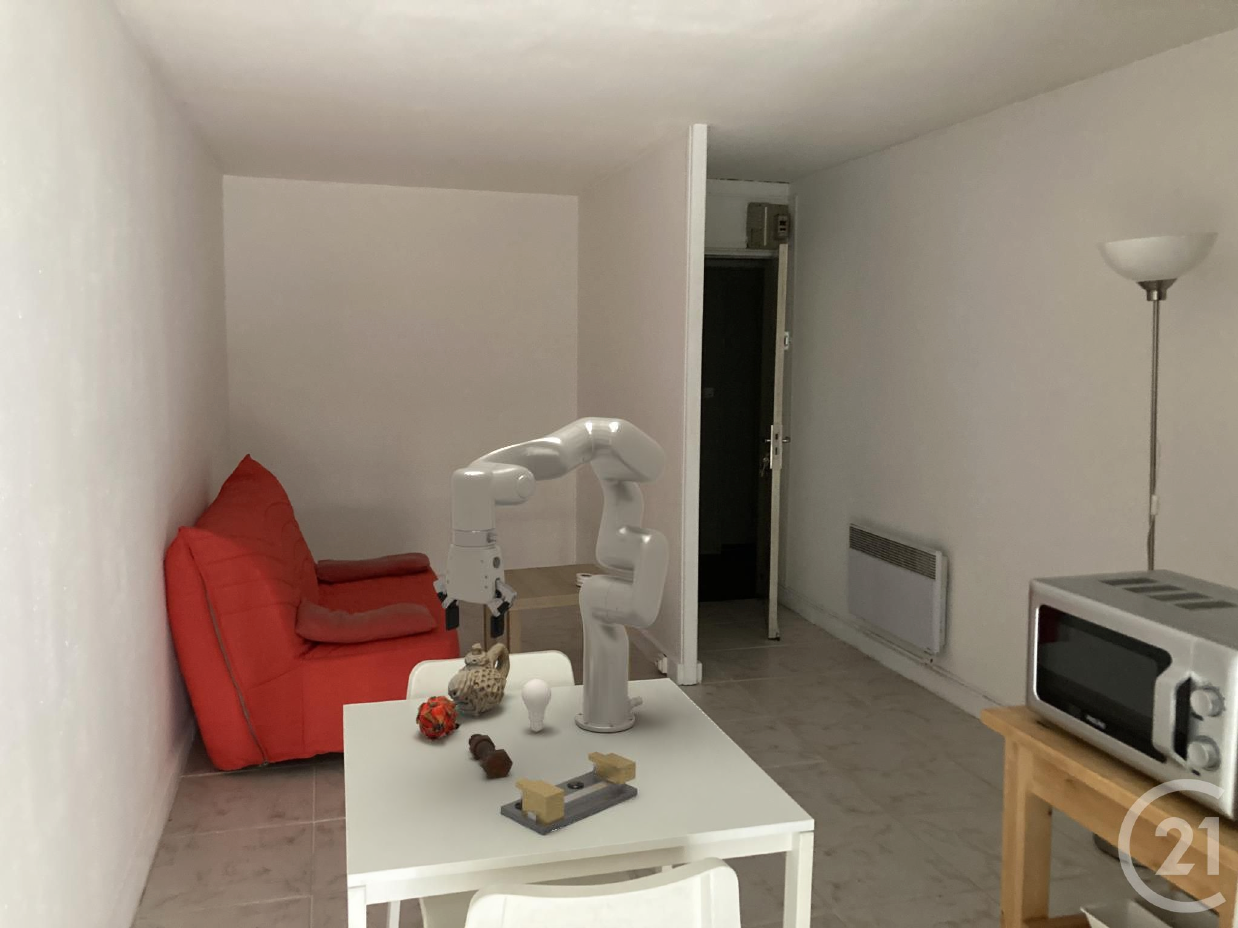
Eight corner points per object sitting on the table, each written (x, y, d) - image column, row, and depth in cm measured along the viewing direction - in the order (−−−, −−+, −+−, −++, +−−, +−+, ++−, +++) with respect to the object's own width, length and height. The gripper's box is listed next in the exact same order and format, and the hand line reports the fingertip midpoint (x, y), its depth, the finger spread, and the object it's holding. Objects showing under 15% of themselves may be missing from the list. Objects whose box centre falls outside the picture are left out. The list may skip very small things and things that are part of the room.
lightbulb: (556, 729, 212) (556, 677, 210) (542, 738, 206) (542, 686, 205) (530, 724, 214) (531, 673, 213) (516, 733, 209) (516, 681, 207)
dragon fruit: (440, 730, 214) (442, 760, 203) (407, 710, 212) (406, 740, 200) (465, 699, 213) (467, 728, 202) (431, 679, 211) (432, 706, 199)
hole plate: (594, 776, 188) (594, 745, 187) (637, 794, 180) (637, 762, 180) (500, 813, 172) (500, 779, 172) (543, 835, 165) (543, 800, 164)
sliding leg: (599, 769, 187) (600, 747, 186) (635, 784, 180) (635, 761, 180) (584, 775, 184) (584, 753, 184) (619, 790, 178) (619, 768, 177)
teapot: (474, 731, 210) (473, 660, 208) (427, 721, 215) (427, 652, 213) (526, 700, 229) (527, 634, 228) (483, 692, 234) (483, 628, 232)
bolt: (479, 758, 201) (502, 785, 187) (457, 749, 199) (479, 775, 185) (493, 731, 202) (517, 756, 188) (471, 721, 200) (494, 746, 186)
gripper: (526, 539, 179) (526, 634, 181) (447, 530, 187) (448, 621, 189) (502, 546, 172) (503, 644, 174) (421, 536, 180) (422, 631, 182)
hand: (474, 632), depth 182 cm, fingers open, 9 cm apart
